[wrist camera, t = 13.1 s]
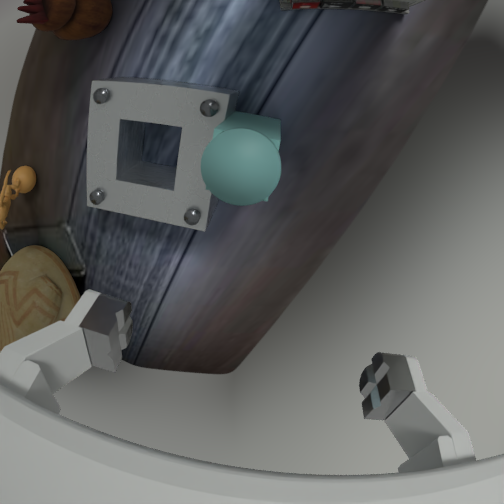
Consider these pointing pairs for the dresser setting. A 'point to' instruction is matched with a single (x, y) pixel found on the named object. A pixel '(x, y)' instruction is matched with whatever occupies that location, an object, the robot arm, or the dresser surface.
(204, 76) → the dresser surface
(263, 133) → the cover plug
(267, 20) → the dresser surface
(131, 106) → the housing
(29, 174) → the figurine
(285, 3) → the cassette tape recorder
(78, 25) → the wooden figurine
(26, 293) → the ceramic vessel
